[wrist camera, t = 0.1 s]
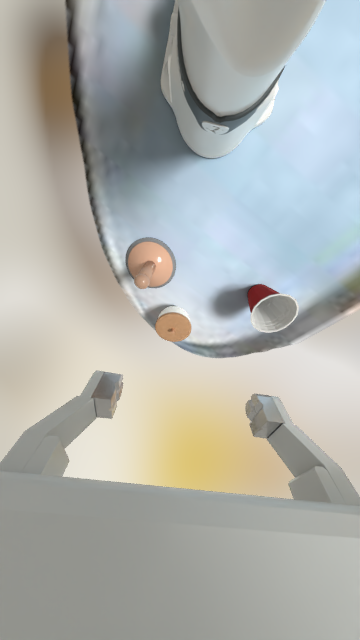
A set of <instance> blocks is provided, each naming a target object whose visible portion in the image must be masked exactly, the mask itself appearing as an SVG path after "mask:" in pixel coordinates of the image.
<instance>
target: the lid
mask: <svg viewBox="0 0 360 640" xmlns="http://www.w3.org/2000/svg"><path fill="white" fill-rule="evenodd" d="M128 266H129V270H130V272H131V274H132V275H133V277H134V283H135V285H136V286H137V287H138V288H140V289H145V288H147V287H148V286H150V287H156V286H160V285H162V284H164V283H165V282H167V281H168V279H169V278H170V276H171V274H172V270H173V262H172V258H171V256H170V254H169V252H168V251H167V250H166V249H165V248H164V247H163V246H161V245H160V244H158V243H155V242H151V241H146V242H141V243H139V244H137V245H136V246H135V247H134V248H133V249H132V250H131V252H130V254H129V257H128Z"/></svg>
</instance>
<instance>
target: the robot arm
mask: <svg viewBox="0 0 360 640" xmlns="http://www.w3.org/2000/svg"><path fill="white" fill-rule="evenodd" d="M325 2H326V0H175V4H174V9H173V13H172V16H171V21H170V31H169V36H168V42H167V47H166V53H165V58H164V63H163V69H162V74H161V90H162V93H163V95H164V97H165V98H166V100H167V102H168V103H169V104H170V106H171V107H172V109H173V111H174V114H175V117H176V120H177V124H178V127H179V130H180V132H181V135H182V137H183V139H184V140H185V142H186V143H187V145H188V146H189V147H190V148H191V149H192V150H193V151H194V152H195V153H197V154H198V155H200V156H202V157H206V158H218V157H222V156H224V155H226V154H228V153H230V152H231V151H232V150H234V149H235V148H236V147H237V146H238V145H239V144H240V143H241V142H242V141H243V139H244V138H245V137H246V136H247V134H248V133H249V132H250V131H251V130H252V129H254V128H256V127H258V126H259V125H261V124H262V123H264V122H265V121H266V120H267V119H268V117H269V116H270V114H271V112H272V109H273V105H274V100H275V96H276V94H277V92H278V88H279V87H278V81H279V77H280V75H281V73H282V71H283V69H284V67H285V65H286V63H287V62H288V61H289V59H290V58H291V56H292V55H293V54H294V52H295V51H296V49H297V48H298V47H299V45H300V44H301V43H302V41H303V40H304V38H305V37H306V36H307V34H308V32H309V31H310V29H311V28H312V26H313V24H314V23H315V21H316V19H317V17H318V15H319V14H320V12H321V10H322V8H323V6H324V4H325ZM168 74H169V75H168ZM122 379H123V375H121V374H115V373H109V372H103V371H95V372H94V374H93V375H92V377H91V379H90V380H89V382H88V384H87V385H86V387H85V389H84V390H83V392H82V393H81V395H80V396H76V397H75V398H74V399H72V400H70V401H69V402H68V403H66V404H65V405H63V406H61V407H60V408H58V409H57V410H55V411H54V412H53V413H51V414H50V415H48V416H47V417H45V418H44V419H42V420H41V421H39V422H38V423H36V424H35V425H33V426H32V427H30V428H29V429H27V430H26V431H25V432H24V433H23V434H22V436H21V437H20V438H19V439H18V441H17V442H16V443H15V445H14V446H13V447H12V448H11V450H10V451H9V452H8V454H7V455H6V456H5V457H4V459H3V460H2V461H1V463H0V640H360V497H359V495H358V493H357V492H356V490H355V489H354V487H353V486H352V484H351V482H350V481H349V479H348V478H347V476H346V474H345V473H344V471H343V470H342V468H341V467H340V466H339V465H338V464H337V463H335V462H334V461H333V460H332V459H331V458H330V457H329V456H328V455H327V454H326V453H325V452H324V451H323V450H322V449H321V448H320V447H319V446H317V445H316V444H315V443H314V442H313V441H312V440H311V439H310V438H309V437H308V436H307V435H306V434H305V433H304V432H303V431H302V430H301V429H299V427H297V426H296V425H294V424H293V422H292V421H291V419H290V417H289V415H288V413H287V411H286V409H285V407H284V405H283V404H282V402H281V400H280V399H279V398H278V397H274V396H268V395H260V394H253V395H252V396H251V400H249V401H248V402H247V403H246V414H247V417H248V418H249V419H250V420H251V422H250V427H251V430H252V433H253V436H254V437H260V438H266V439H267V440H268V441H269V443H270V444H271V445H272V447H273V448H274V450H275V451H276V452H277V454H278V455H279V456H280V458H281V459H282V460H283V462H284V463H285V464H286V466H287V467H288V468H289V470H290V471H291V473H292V474H293V475H294V477H295V478H294V479H292V480H291V481H289V483H288V485H289V487H290V490H291V493H292V495H293V498H294V499H284V498H274V497H264V496H254V495H253V496H252V495H244V494H233V493H223V492H213V491H203V490H192V489H182V488H172V487H162V486H152V485H142V484H131V483H121V482H111V481H100V480H90V479H80V478H70V477H62V476H63V473H64V471H65V469H66V467H67V465H68V463H69V459H68V456H67V454H66V452H65V450H64V449H65V448H66V447H67V446H68V445H69V444H70V443H71V442H72V441H73V440H74V439H75V438H76V437H77V436H78V435H79V434H81V432H83V431H84V430H85V428H87V427H88V426H89V425H90V424H91V423H92V422H93V421H94V420H95V419H96V417H100V418H110V419H111V418H113V415H114V412H115V410H116V407H117V405H116V402H117V401H118V400H119V399H120V396H121V393H122V388H123V383H122Z"/></svg>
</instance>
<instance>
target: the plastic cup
mask: <svg viewBox="0 0 360 640" xmlns="http://www.w3.org/2000/svg"><path fill="white" fill-rule="evenodd" d="M248 301H249V307H250V311H251V323H252V325H253V327H254V328H255V329H257V330H259V331H261V332H267V333H270V332H276V331H279V330H281V329H284V328H286V327H287V326H288V325H289V324H291V323H292V322H293V321H294V319H295V317H296V316H297V314H298V308H299V306H298V303H297V301H296V299H294V298H293V297H292V296H290V295H286V294H280V293H278V292H276V291H275V290H273V289H271V288H269V287H267V286H265V285H262V284H258V285H255V286H253V287H252V288H251V289H250V290H249V291H248Z"/></svg>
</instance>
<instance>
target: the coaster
mask: <svg viewBox="0 0 360 640" xmlns="http://www.w3.org/2000/svg"><path fill="white" fill-rule="evenodd" d="M146 241H151V242H155V243H158V244H160V245H161V246H163V247H164V248H165V249H166V250H167V251H168V252H169V254H170V256H171V258H172V262H173V270H172V274H171V276H170V278H169V279H168V281H167V282H165V283H164V284H162V285H160V286H156V287H150V286H148V287H149V288H159V287H162V286H164V285H166V284H167V283H169V282H170V281H171V279H172V278H173V276H174V274H175V270H176V262H175V257H174V255H173V253H172V251H171V250H170V248H169V247H168V246H167V245H166V244H165V243H163V242H162V241H160V240H158V239H155V238H142V239H139V240H137V241H135V242H134V243H133V244H132V245H131V246H130V247H129V249H128V251H127V255H126V265H127V269H128V271H129V273H130V275H131V276H132V278H133V279H134V277H133V275H132V274H131V272H130V270H129V266H128V257H129V254H130V252H131V250H132V249H133V248H134V247H135V246H136V245H137V244H139V243H141V242H146Z"/></svg>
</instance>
